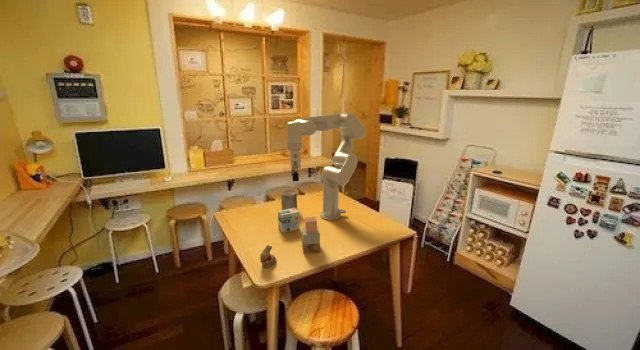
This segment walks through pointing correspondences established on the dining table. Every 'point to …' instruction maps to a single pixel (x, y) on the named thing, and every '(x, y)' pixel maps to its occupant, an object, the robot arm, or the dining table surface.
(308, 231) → the block
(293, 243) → the dining table surface
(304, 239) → the tower top
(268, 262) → the chocolate bunny
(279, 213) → the light bulb box
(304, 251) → the tower base
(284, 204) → the pillar candle
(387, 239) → the dining table surface
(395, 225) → the dining table surface
